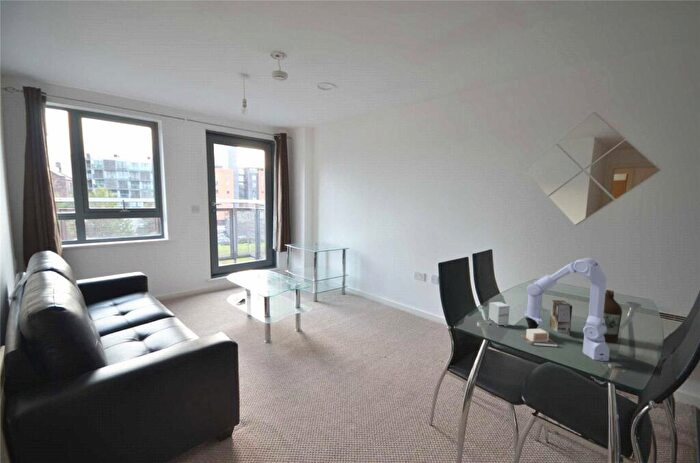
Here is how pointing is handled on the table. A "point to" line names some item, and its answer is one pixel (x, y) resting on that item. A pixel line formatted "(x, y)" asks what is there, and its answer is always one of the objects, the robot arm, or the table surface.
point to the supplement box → (499, 313)
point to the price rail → (545, 344)
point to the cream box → (537, 335)
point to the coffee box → (561, 316)
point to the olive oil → (611, 317)
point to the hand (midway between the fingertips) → (532, 332)
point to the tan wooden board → (535, 345)
